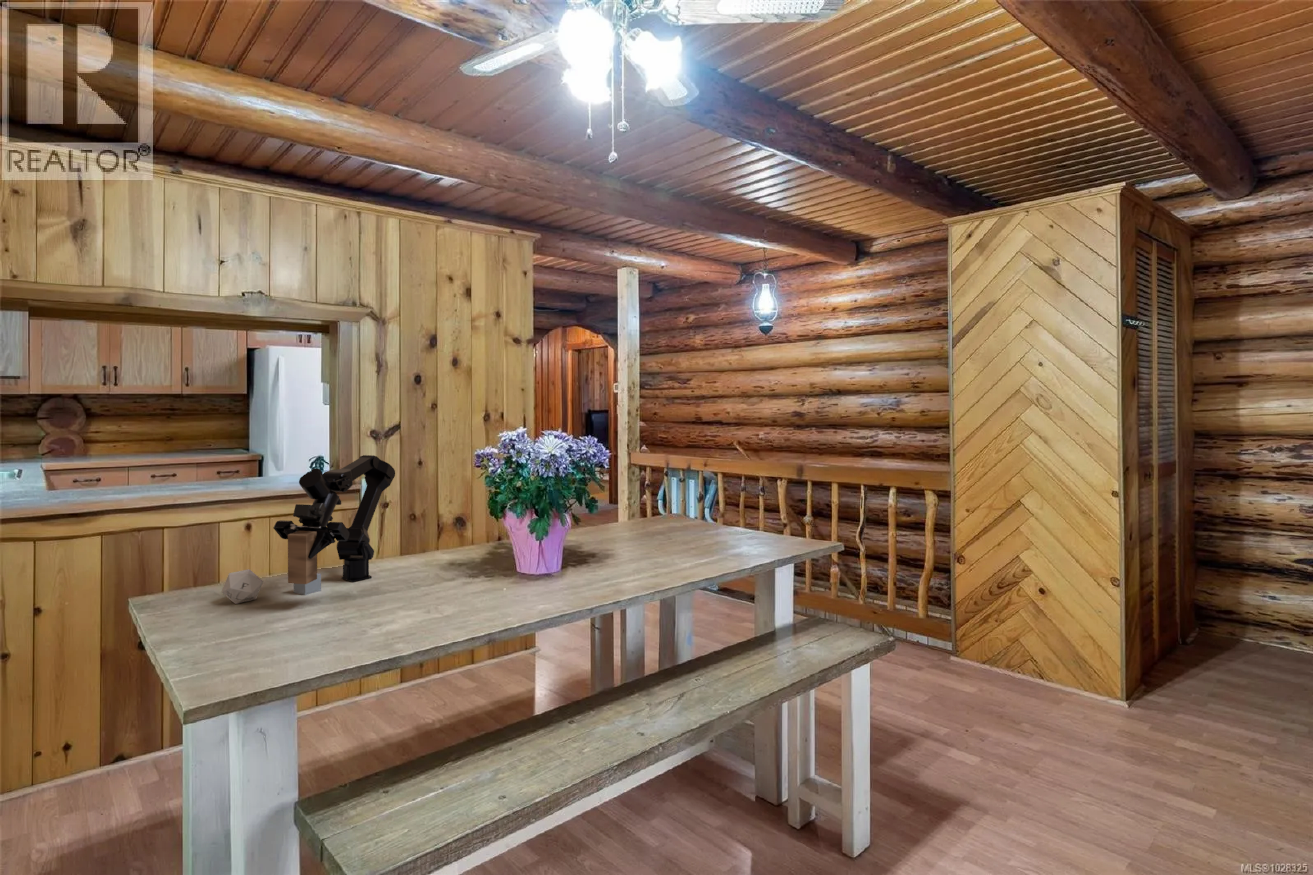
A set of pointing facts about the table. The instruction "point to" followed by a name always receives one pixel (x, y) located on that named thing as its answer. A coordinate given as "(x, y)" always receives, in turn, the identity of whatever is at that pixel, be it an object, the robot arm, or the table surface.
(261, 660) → the table surface
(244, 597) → the die
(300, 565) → the walnut block
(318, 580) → the slate cube
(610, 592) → the table surface
